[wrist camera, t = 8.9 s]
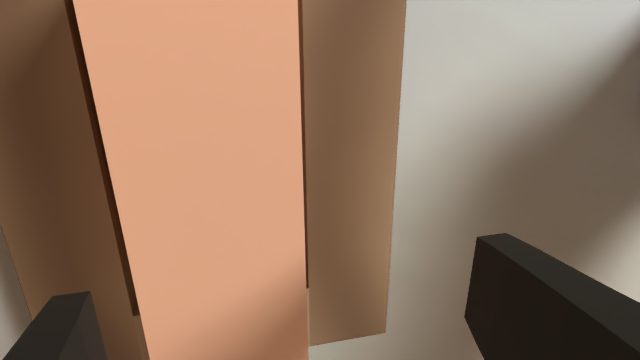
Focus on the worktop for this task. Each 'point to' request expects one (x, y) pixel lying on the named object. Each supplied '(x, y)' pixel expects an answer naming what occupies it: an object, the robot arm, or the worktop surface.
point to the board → (97, 190)
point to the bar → (205, 169)
